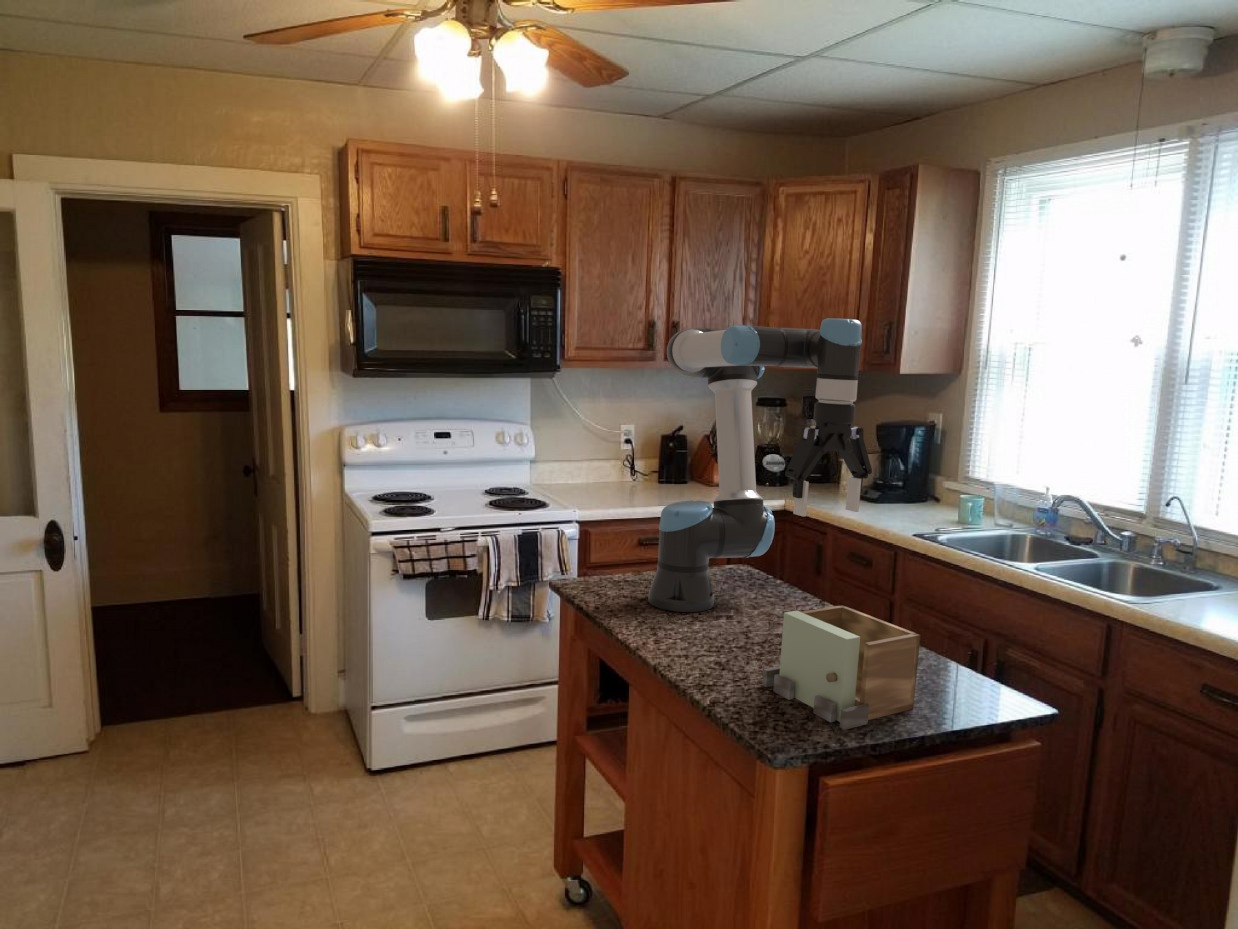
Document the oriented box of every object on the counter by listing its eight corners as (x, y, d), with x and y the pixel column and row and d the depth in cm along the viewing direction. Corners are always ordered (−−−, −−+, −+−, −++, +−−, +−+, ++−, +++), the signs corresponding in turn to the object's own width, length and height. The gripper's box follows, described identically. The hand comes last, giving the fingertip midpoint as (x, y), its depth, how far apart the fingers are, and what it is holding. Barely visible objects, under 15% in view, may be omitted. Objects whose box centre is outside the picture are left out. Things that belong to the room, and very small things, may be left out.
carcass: (762, 685, 158) (767, 614, 156) (832, 670, 167) (838, 603, 165) (844, 730, 141) (850, 651, 139) (917, 710, 150) (925, 636, 148)
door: (773, 690, 156) (778, 613, 154) (791, 686, 159) (797, 610, 157) (834, 723, 144) (841, 640, 142) (853, 718, 146) (860, 636, 144)
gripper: (867, 400, 177) (858, 505, 180) (771, 399, 164) (763, 513, 167) (897, 403, 170) (887, 512, 173) (799, 403, 157) (790, 520, 160)
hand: (826, 513), depth 170 cm, fingers open, 13 cm apart
